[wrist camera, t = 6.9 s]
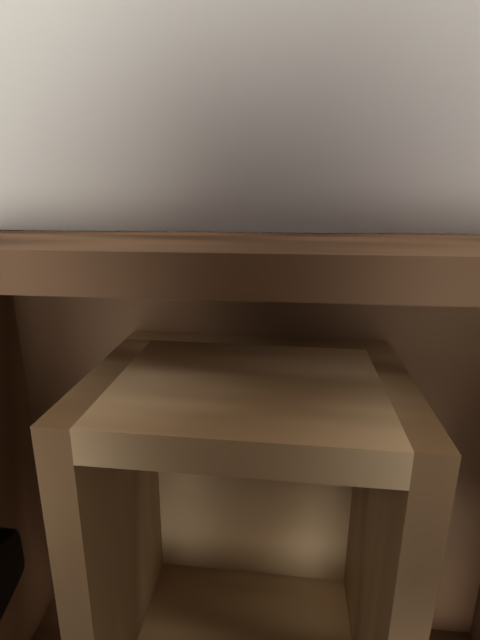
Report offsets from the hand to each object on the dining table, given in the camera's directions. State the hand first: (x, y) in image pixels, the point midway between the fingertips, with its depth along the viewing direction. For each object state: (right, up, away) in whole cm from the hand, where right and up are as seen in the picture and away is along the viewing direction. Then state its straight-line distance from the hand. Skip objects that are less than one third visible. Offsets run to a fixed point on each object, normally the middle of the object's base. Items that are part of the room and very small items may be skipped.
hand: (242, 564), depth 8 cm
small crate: (0, +1, +3) cm, 3 cm away
